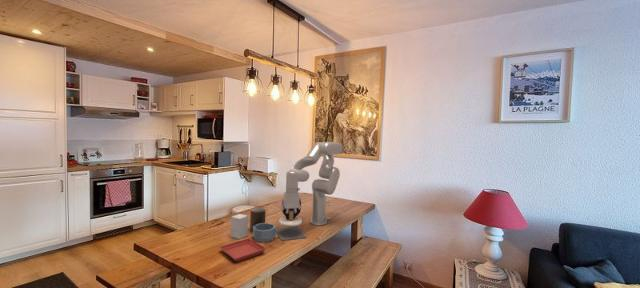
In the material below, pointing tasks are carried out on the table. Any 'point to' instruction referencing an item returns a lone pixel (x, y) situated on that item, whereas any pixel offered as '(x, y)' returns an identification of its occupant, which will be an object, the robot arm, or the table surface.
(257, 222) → the grey cylinder
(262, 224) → the bowl
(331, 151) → the robot arm
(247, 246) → the plant saucer
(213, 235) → the table surface
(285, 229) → the mat
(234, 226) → the supplement box
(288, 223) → the lid
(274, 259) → the table surface
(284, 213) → the mate gourd
